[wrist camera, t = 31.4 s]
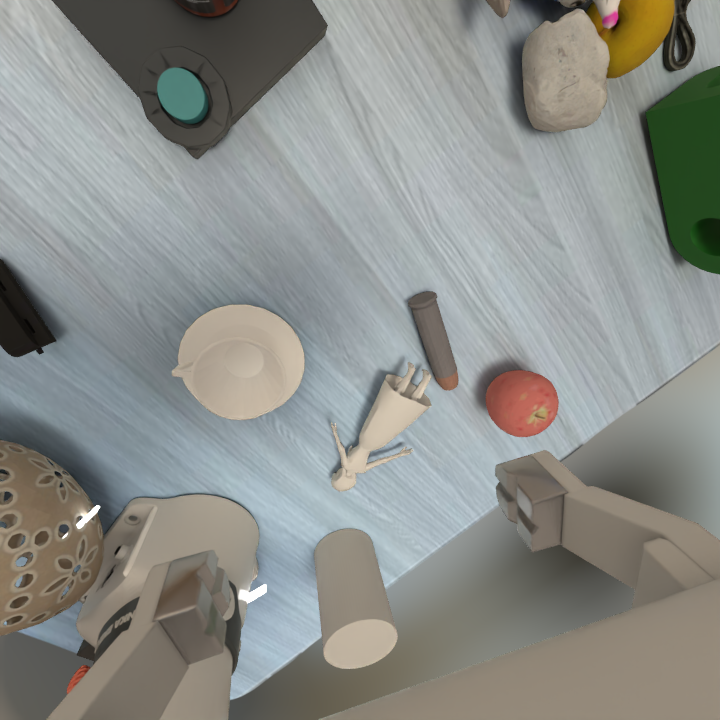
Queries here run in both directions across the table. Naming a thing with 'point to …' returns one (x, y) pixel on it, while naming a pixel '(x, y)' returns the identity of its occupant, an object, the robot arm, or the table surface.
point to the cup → (352, 601)
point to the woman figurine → (383, 425)
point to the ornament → (43, 539)
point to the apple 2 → (633, 32)
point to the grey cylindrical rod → (434, 339)
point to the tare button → (182, 95)
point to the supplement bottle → (207, 6)
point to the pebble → (565, 73)
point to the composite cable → (684, 36)
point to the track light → (19, 319)
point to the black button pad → (199, 53)
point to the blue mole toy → (599, 9)
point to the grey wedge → (499, 6)
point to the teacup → (240, 361)
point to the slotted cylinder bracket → (690, 167)
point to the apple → (522, 402)
